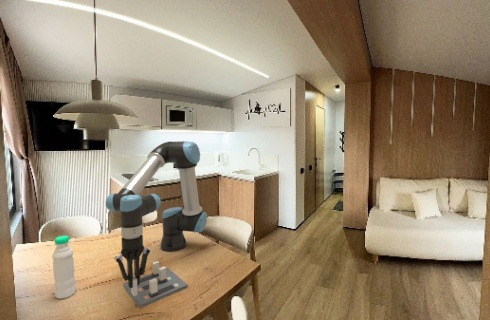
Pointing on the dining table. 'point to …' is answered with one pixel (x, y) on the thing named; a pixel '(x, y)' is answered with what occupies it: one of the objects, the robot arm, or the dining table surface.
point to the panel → (164, 288)
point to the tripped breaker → (153, 287)
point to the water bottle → (63, 268)
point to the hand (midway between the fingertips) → (134, 294)
